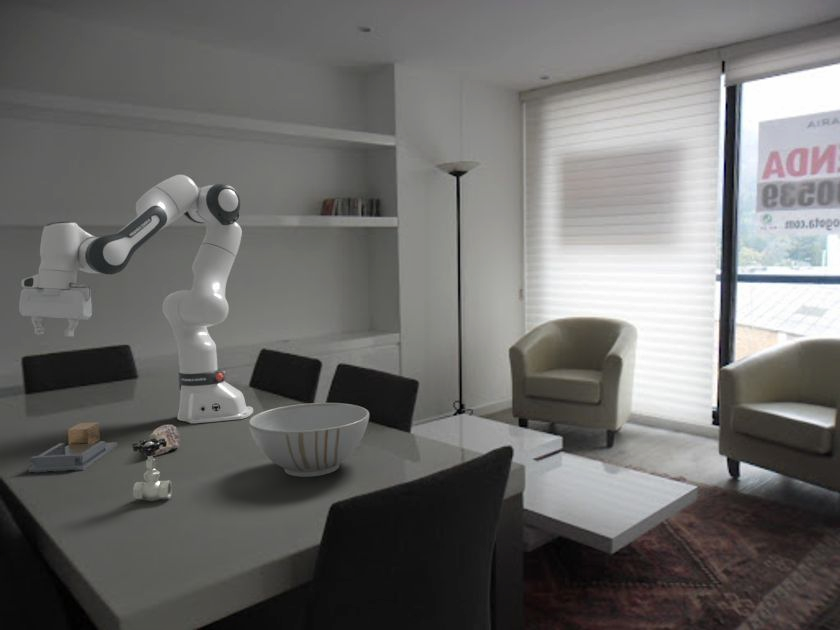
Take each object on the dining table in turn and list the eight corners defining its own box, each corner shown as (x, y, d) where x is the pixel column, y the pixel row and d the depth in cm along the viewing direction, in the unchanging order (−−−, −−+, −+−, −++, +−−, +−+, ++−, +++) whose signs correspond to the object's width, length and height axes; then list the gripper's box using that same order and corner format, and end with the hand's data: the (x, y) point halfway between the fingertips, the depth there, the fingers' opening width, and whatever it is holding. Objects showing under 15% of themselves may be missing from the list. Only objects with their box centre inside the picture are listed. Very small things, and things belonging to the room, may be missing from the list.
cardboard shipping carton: (99, 440, 183) (98, 422, 183) (88, 447, 176) (87, 428, 176) (81, 441, 183) (79, 423, 182) (69, 448, 176) (67, 429, 175)
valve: (141, 495, 137) (137, 438, 136) (174, 493, 138) (171, 436, 137) (130, 507, 131) (126, 447, 130) (165, 505, 131) (161, 445, 130)
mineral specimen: (177, 456, 165) (175, 431, 165) (146, 459, 164) (144, 434, 163) (182, 442, 178) (180, 419, 177) (153, 445, 176) (151, 422, 175)
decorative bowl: (318, 496, 133) (315, 437, 132) (225, 477, 148) (222, 423, 147) (394, 459, 156) (392, 408, 155) (307, 445, 170) (304, 398, 169)
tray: (117, 445, 176) (116, 432, 176) (83, 470, 156) (82, 455, 156) (69, 448, 175) (68, 435, 175) (29, 472, 155) (27, 458, 155)
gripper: (99, 284, 175) (96, 337, 175) (35, 282, 181) (32, 333, 180) (81, 283, 169) (77, 337, 169) (16, 280, 175) (12, 333, 174)
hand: (53, 335), depth 175 cm, fingers open, 8 cm apart
